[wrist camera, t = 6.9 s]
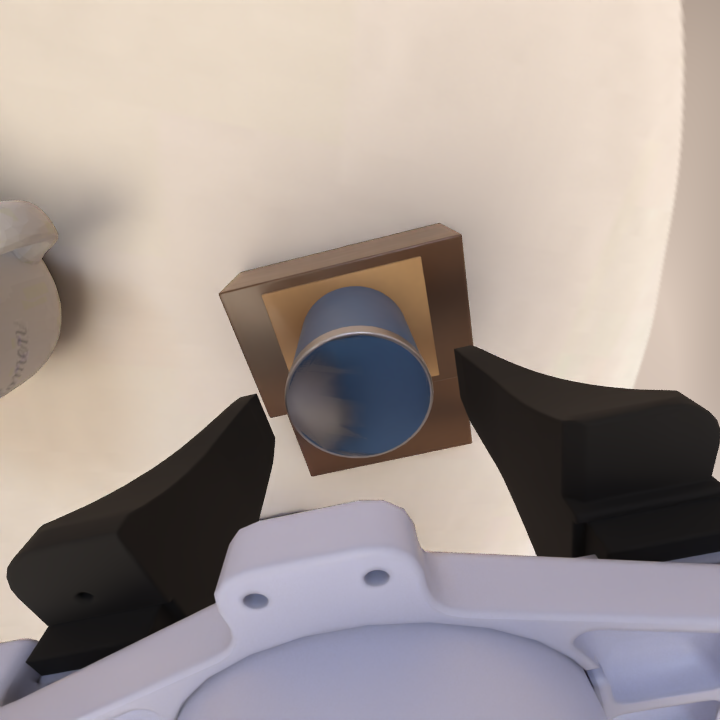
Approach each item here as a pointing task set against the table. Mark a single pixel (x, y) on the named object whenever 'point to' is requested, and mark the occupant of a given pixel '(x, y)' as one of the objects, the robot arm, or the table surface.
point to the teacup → (25, 293)
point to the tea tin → (357, 376)
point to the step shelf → (382, 273)
